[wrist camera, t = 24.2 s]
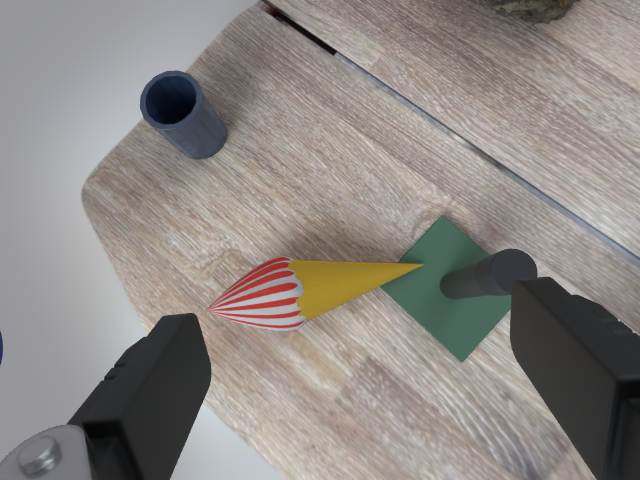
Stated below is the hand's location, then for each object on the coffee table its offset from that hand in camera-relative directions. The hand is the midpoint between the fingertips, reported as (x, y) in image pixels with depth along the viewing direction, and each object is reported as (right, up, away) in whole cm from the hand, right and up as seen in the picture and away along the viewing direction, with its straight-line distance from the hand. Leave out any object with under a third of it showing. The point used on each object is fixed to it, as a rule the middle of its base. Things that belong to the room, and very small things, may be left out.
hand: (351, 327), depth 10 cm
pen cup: (-13, +13, +31) cm, 37 cm away
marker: (+11, -2, +26) cm, 28 cm away
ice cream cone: (0, -3, +27) cm, 27 cm away
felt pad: (+11, -2, +26) cm, 29 cm away
